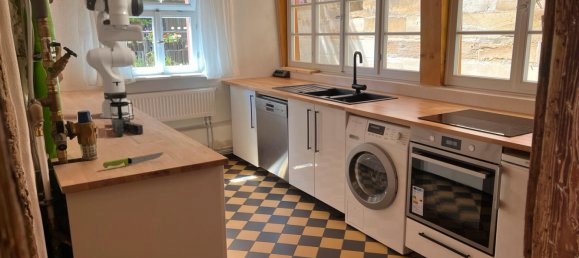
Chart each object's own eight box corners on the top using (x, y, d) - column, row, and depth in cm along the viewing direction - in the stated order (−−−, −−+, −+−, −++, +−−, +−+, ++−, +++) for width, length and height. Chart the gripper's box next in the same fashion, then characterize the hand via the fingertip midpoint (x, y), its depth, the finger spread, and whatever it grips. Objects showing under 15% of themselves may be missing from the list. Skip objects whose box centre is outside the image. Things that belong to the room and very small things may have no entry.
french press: (109, 128, 219) (105, 83, 214) (110, 124, 227) (105, 81, 222) (134, 126, 223) (130, 81, 218) (133, 122, 231) (129, 80, 226)
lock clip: (98, 133, 208) (97, 124, 207) (105, 133, 209) (104, 124, 208) (98, 138, 199) (97, 128, 198) (105, 137, 201) (104, 127, 200)
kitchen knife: (163, 158, 167) (163, 151, 166) (165, 159, 166) (164, 152, 165) (103, 170, 154) (102, 162, 153) (104, 171, 153) (103, 163, 152)
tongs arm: (123, 130, 213) (122, 122, 213) (128, 129, 215) (127, 121, 214) (138, 134, 204) (137, 126, 204) (143, 133, 206) (142, 125, 205)
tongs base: (112, 129, 216) (111, 118, 215) (129, 127, 220) (128, 117, 218) (114, 137, 199) (113, 126, 198) (132, 135, 203) (131, 124, 201)
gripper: (141, 21, 214) (144, 50, 216) (96, 22, 206) (99, 51, 208) (143, 21, 208) (145, 50, 211) (96, 21, 200) (100, 51, 203)
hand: (122, 51), depth 209 cm, fingers open, 8 cm apart
